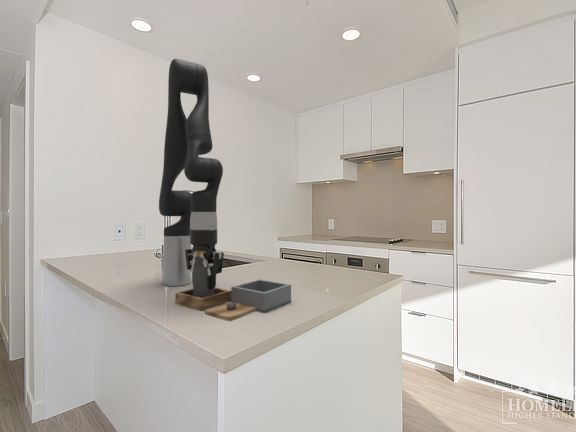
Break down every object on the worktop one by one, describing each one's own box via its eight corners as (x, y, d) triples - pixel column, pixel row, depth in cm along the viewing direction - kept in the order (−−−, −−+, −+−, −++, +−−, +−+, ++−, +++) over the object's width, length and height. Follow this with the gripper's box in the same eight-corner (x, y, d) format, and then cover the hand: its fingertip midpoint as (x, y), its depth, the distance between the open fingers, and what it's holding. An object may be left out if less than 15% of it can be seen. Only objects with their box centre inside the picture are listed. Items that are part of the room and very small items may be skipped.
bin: (231, 304, 89) (231, 286, 89) (259, 295, 99) (259, 279, 98) (264, 312, 82) (264, 293, 82) (291, 301, 92) (291, 284, 92)
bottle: (208, 306, 87) (208, 251, 87) (189, 304, 88) (189, 251, 88) (217, 300, 93) (217, 249, 93) (199, 298, 94) (199, 248, 94)
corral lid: (204, 313, 81) (204, 305, 81) (232, 304, 89) (232, 297, 89) (229, 320, 76) (229, 312, 76) (257, 310, 84) (257, 302, 84)
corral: (175, 303, 89) (175, 293, 89) (206, 295, 98) (206, 285, 98) (201, 310, 83) (201, 299, 83) (231, 301, 92) (231, 290, 92)
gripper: (176, 227, 91) (177, 285, 92) (210, 229, 83) (210, 293, 83) (197, 226, 98) (197, 281, 98) (231, 228, 89) (231, 287, 90)
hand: (203, 286), depth 91 cm, fingers closed on bottle, 6 cm apart
